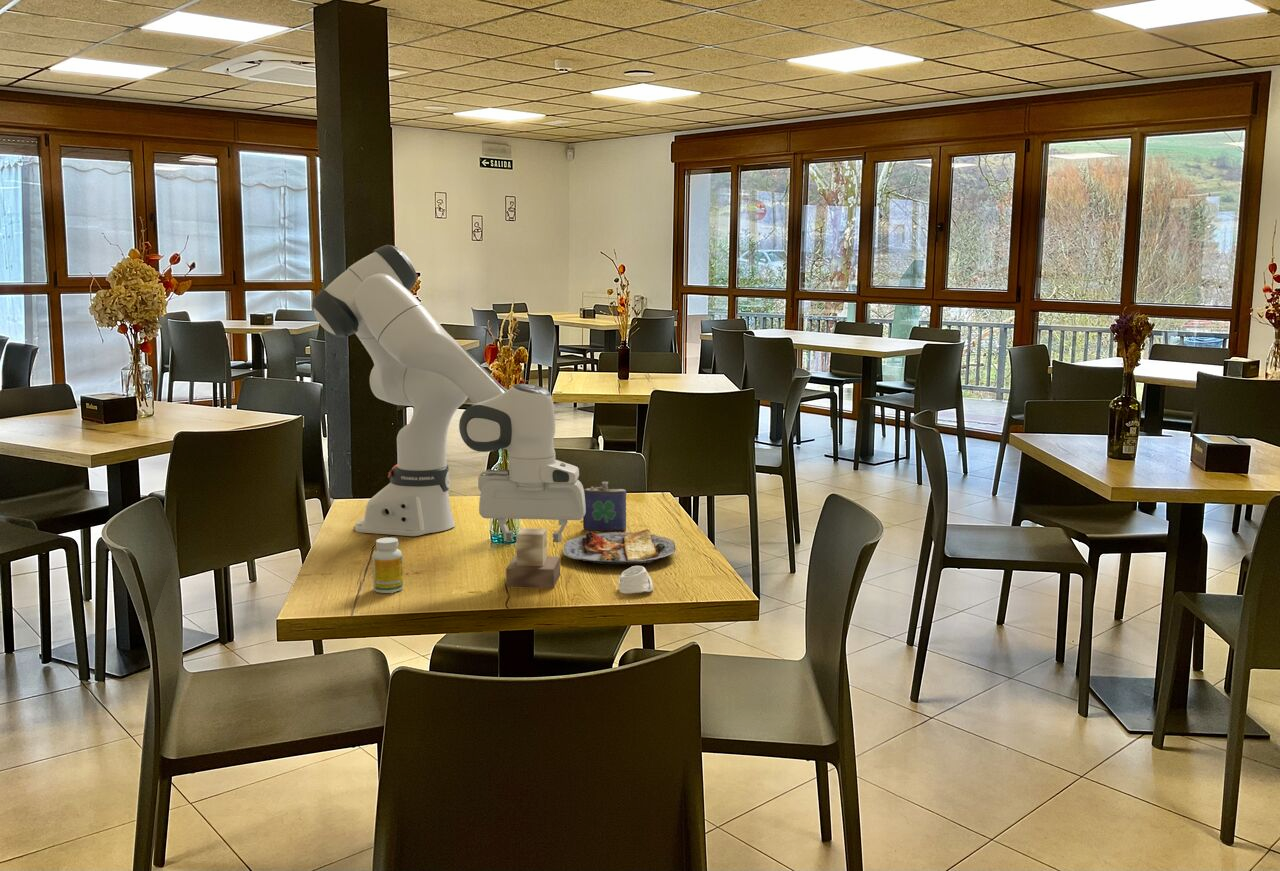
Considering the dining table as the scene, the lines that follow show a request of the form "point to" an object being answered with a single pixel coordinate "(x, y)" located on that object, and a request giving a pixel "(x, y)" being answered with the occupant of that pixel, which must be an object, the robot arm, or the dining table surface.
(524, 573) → the walnut block
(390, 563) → the supplement bottle
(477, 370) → the robot arm
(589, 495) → the flask
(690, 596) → the dining table surface
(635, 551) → the food plate
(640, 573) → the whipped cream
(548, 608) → the dining table surface
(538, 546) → the tan piece
